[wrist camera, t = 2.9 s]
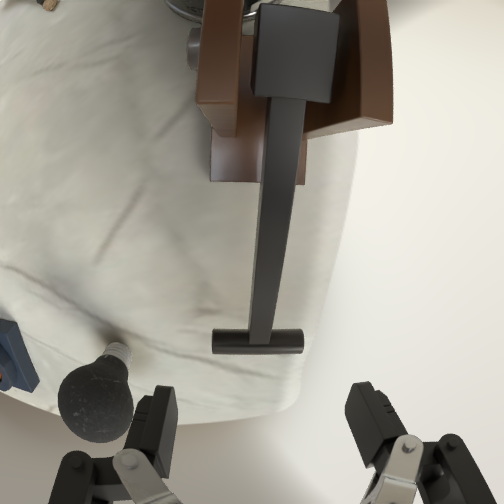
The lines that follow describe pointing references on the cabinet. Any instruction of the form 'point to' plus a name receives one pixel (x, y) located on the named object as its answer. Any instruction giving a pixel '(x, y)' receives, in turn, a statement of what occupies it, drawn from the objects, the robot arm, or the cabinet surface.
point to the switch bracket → (254, 107)
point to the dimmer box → (15, 360)
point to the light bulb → (99, 396)
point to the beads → (47, 4)
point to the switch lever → (281, 156)
